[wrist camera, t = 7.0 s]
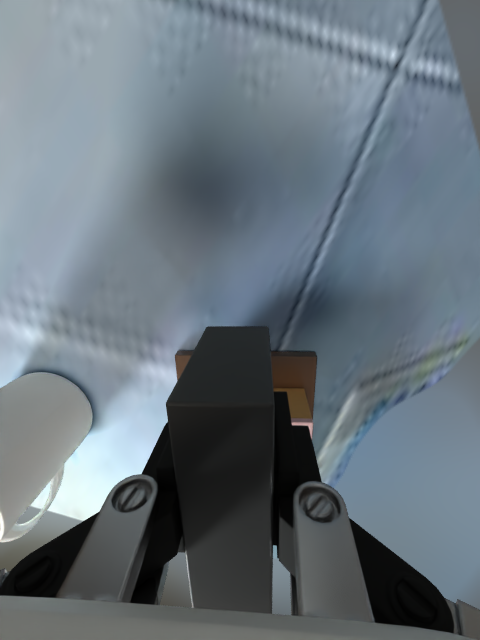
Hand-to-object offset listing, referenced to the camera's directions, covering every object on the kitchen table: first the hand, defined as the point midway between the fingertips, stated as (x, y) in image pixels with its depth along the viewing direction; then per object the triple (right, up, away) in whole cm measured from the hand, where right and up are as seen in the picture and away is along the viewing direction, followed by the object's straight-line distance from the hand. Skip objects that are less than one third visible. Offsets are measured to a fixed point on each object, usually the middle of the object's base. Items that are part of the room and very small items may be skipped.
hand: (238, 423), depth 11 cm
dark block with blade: (0, -4, +2) cm, 4 cm away
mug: (-18, -6, +18) cm, 26 cm away
